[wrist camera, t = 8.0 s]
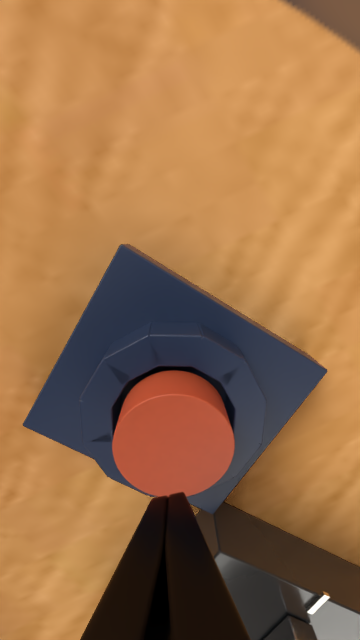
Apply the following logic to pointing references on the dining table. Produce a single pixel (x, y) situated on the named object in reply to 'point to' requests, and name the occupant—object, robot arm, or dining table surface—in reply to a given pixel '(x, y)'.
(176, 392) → the push button
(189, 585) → the robot arm
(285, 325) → the dining table surface
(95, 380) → the button housing
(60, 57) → the dining table surface
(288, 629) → the tap handle
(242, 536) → the tap console
